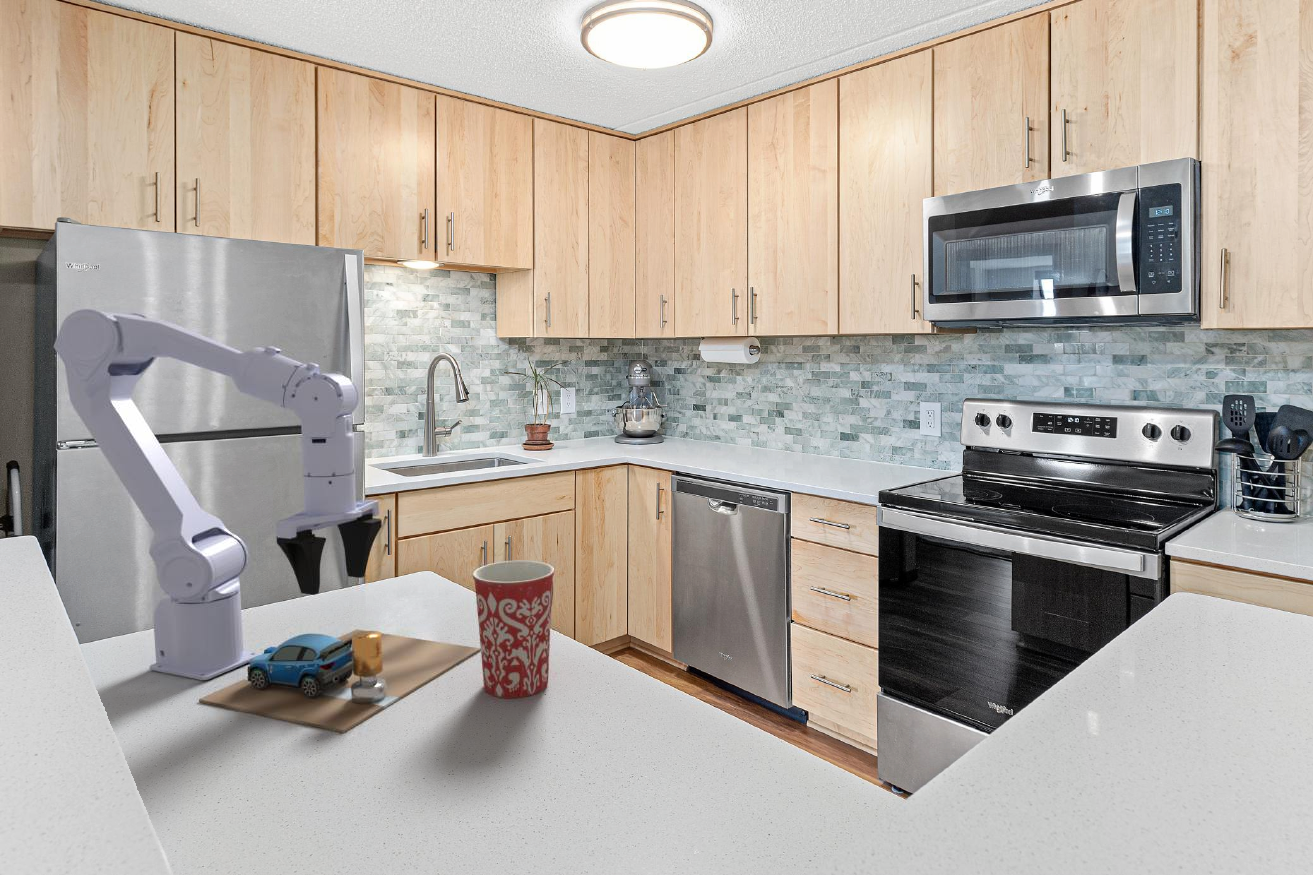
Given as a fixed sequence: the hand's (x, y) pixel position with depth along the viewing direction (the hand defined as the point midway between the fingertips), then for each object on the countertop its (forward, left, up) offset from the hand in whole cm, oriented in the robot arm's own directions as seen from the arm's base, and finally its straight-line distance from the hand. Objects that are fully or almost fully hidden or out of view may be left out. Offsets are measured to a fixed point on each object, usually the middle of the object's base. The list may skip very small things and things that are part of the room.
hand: (333, 584), depth 96 cm
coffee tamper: (+11, -7, -10) cm, 16 cm away
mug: (+24, +4, -10) cm, 26 cm away
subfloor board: (+4, -2, -10) cm, 11 cm away
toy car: (+2, -7, -10) cm, 12 cm away
